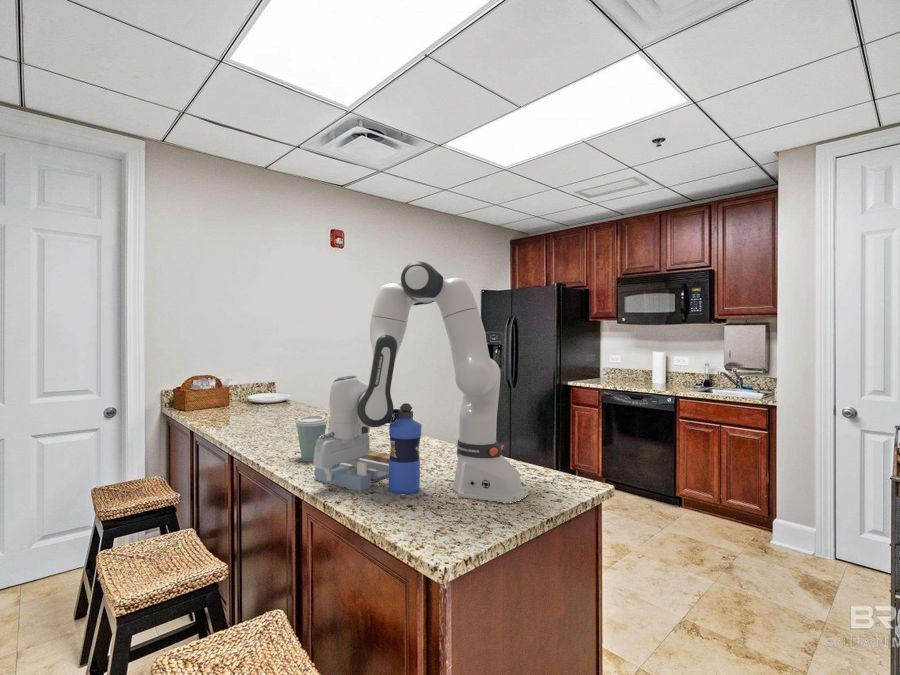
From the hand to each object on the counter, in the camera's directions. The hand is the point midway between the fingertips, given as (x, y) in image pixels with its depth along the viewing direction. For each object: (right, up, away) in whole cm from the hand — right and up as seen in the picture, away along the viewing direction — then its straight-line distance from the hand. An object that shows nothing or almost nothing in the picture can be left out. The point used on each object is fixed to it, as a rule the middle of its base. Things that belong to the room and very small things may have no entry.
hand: (341, 476), depth 141 cm
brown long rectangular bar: (+9, -3, +24) cm, 26 cm away
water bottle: (+19, -3, -4) cm, 20 cm away
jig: (+3, -2, +12) cm, 13 cm away
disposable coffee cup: (-17, -2, +26) cm, 31 cm away
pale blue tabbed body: (0, -2, 0) cm, 2 cm away
